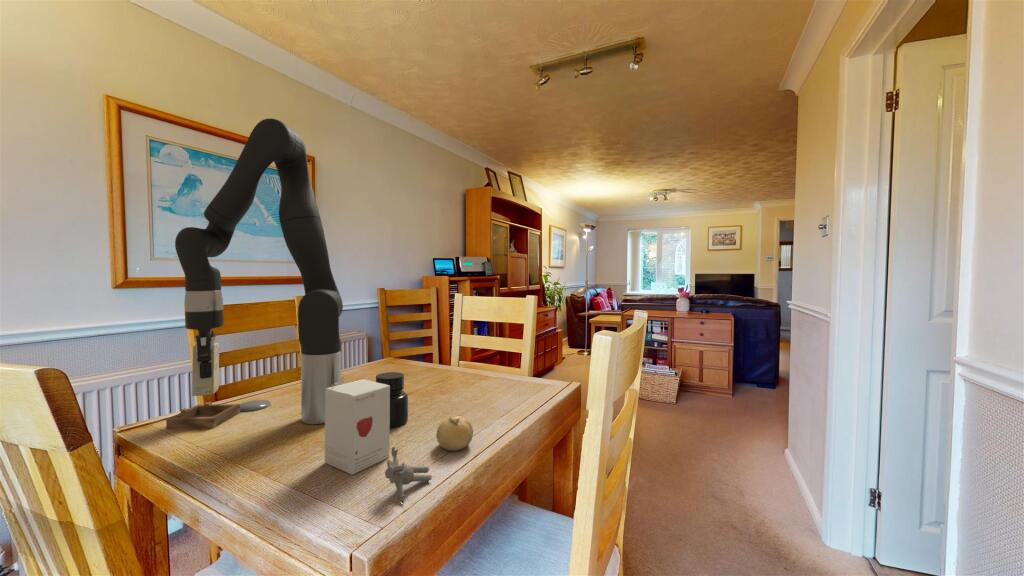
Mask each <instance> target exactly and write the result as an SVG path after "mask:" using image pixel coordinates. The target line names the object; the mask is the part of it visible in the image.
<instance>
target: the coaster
mask: <svg viewBox="0 0 1024 576" xmlns="http://www.w3.org/2000/svg"><path fill="white" fill-rule="evenodd" d="M239 404H240V413H244V412H245V413H247V412H249V411H250V412H256V411H260V409H261V410H264V409H266V407H267V408H269V407H270V406H271V401H270V400H267V399H258V400H250V401H246V402H245V401H244V402H243V403H242V402H241V403H239ZM268 406H269V407H268ZM255 410H256V411H255Z"/></svg>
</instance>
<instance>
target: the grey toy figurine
mask: <svg viewBox="0 0 1024 576" xmlns="http://www.w3.org/2000/svg"><path fill="white" fill-rule="evenodd" d="M398 451H399V448H395V446H392V447H391V456H392V457H393V461H391V460H390V459H389V458H387V461H386V466H387V469H386V470H385V471H384V475H385V478H386V479H389V482H390V484H391V485H392V484H394V485H395V487H396V490H397V492H398V500H399V502H402V503H403V504H404V503H405V498H406V497H407V494H405V493H404V491H403V489H404V488H403V487H404V486H403V485H405V486H406V485H409V484H411V483H412V482H424V481H429V480H430V481H431V480H432V479H433V476H432V474H427V473H428V472H429V471H430V466H429V465H427V466H426V465H425V466H411V465H408V464H405V461H404V460H403V462H402V463H401V464H399V460H398V457H397V456H398ZM425 474H426V475H425ZM430 481H429V482H430Z"/></svg>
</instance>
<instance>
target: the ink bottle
mask: <svg viewBox="0 0 1024 576" xmlns="http://www.w3.org/2000/svg"><path fill="white" fill-rule="evenodd" d="M375 382H377V383H382V384H386V385H390V428H389V429H391V428H396V427H400V426H403V425H405V424H406V423H407V422H408V421H409V420H408V419H409V396H408V394H407V393H406V392H405V391H404V388H405V374H404V373H402V372H399V371H398V372H397V371H390V372H388V371H387V372H381V373H378V374H376V375H375Z"/></svg>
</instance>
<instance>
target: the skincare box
mask: <svg viewBox="0 0 1024 576" xmlns="http://www.w3.org/2000/svg"><path fill="white" fill-rule="evenodd" d="M210 347H214V352H213V353H212V354H211V356H212V362H211V371H212V376H211V377H210V378H205V379H201V378H200V366H199V362H198V361H197V359H198V355H197V354H196V344H195V345H194V346H193V347H192V371H191V372H192V374H191V377H192V382H191V396H192V397H201V396H209V395H214V394H215V393H216V392H217V391H218V390H219V387H220V386H219V384H220V383H219V381H220V379H219V378H220V376H219V375H220V372H219V371H220V370H219V369H220V342H215V344H214V346H210ZM205 356H208V353H207V354H202V355H201V357H205Z"/></svg>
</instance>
